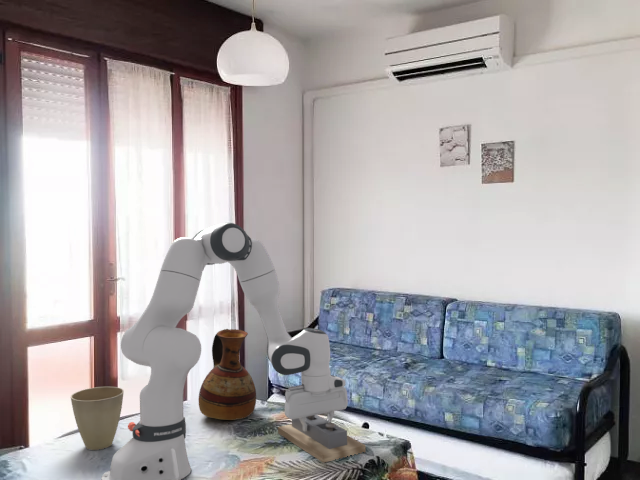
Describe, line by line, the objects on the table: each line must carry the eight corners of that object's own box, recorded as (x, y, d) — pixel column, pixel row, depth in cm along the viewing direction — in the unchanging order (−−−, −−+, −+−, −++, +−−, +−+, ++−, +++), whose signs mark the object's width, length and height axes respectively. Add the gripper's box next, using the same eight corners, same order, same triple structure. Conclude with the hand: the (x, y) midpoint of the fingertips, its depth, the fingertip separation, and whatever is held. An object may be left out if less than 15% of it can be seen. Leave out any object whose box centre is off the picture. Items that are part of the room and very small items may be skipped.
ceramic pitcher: (219, 430, 189) (217, 337, 188) (187, 416, 204) (185, 330, 203) (268, 416, 202) (266, 329, 202) (234, 404, 217) (233, 323, 216)
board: (323, 462, 161) (322, 436, 160) (278, 433, 185) (277, 410, 185) (365, 452, 168) (365, 427, 167) (316, 425, 192) (316, 403, 192)
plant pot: (63, 446, 177) (62, 393, 177) (111, 433, 188) (109, 384, 187) (85, 459, 167) (83, 403, 166) (134, 445, 177) (132, 392, 177)
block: (329, 449, 165) (328, 434, 165) (291, 426, 185) (291, 413, 185) (347, 444, 168) (346, 430, 168) (308, 422, 188) (308, 410, 188)
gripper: (290, 390, 169) (290, 438, 169) (350, 380, 179) (350, 425, 179) (280, 385, 175) (281, 431, 175) (339, 375, 185) (339, 419, 185)
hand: (317, 428), depth 177 cm, fingers closed on block, 6 cm apart
